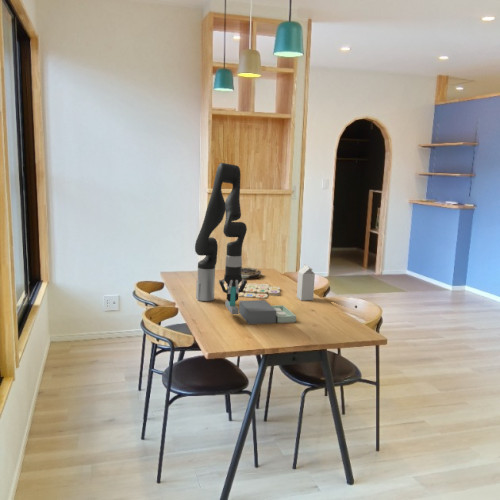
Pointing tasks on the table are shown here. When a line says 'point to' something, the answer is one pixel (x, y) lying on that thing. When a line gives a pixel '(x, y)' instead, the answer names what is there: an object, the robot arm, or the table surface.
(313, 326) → the table surface
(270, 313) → the block
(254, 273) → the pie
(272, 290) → the alphabet tiles
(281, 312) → the ceramic tile
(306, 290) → the milk carton
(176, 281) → the table surface
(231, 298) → the scraper
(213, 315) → the table surface
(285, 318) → the box
